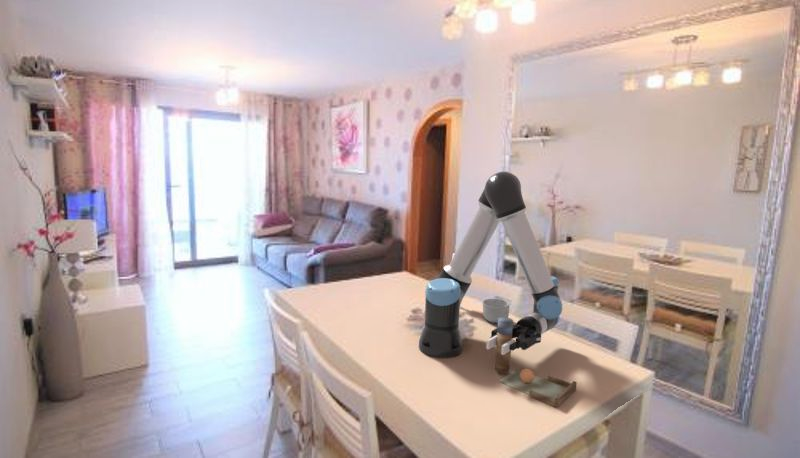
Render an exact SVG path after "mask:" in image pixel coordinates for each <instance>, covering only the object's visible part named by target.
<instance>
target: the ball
mask: <svg viewBox="0 0 800 458" xmlns="http://www.w3.org/2000/svg"><path fill="white" fill-rule="evenodd" d="M521 370H522V371H521V372H520V378H521V380H522V381H523V382H525V383H530V382H532V381H533V379H534V372H533V371H532V370H531V369H529V368H524V369H521Z"/></svg>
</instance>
